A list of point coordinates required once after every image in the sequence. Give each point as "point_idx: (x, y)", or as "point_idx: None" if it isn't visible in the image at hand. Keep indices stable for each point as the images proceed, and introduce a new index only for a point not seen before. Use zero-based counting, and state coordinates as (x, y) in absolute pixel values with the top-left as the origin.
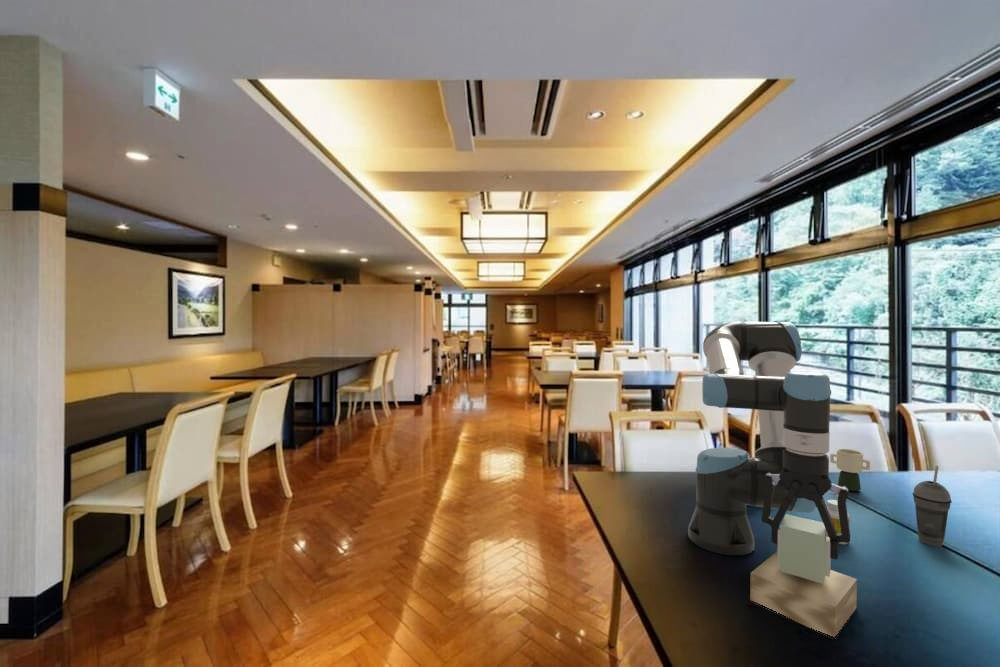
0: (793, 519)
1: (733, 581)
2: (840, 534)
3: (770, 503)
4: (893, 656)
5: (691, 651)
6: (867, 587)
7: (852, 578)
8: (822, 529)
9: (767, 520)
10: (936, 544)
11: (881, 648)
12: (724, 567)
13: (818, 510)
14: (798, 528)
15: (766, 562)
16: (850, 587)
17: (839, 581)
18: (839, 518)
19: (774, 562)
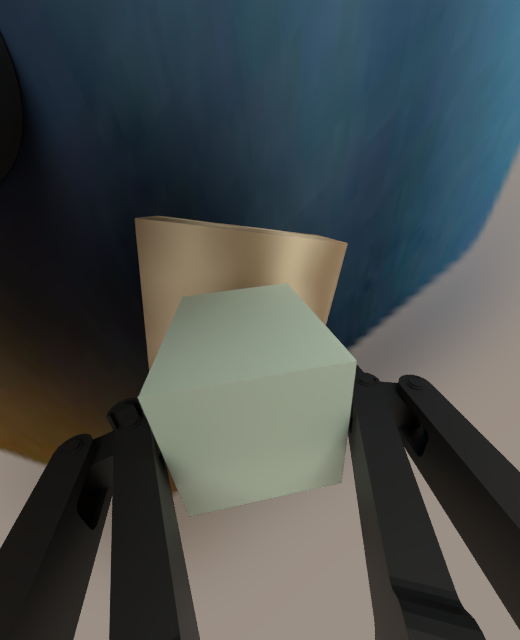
0: (205, 435)
1: (105, 317)
2: (395, 418)
3: (74, 629)
4: (354, 342)
5: (171, 486)
6: (344, 85)
7: (338, 248)
8: (334, 441)
9: (112, 485)
10: None
11: (343, 336)
12: (48, 269)
13: (371, 586)
14: (251, 493)
15: (150, 324)
16: (331, 302)
17: (311, 291)
18: (456, 528)
19: (165, 308)
